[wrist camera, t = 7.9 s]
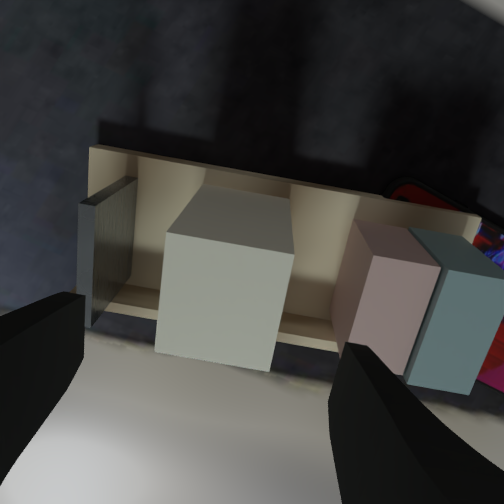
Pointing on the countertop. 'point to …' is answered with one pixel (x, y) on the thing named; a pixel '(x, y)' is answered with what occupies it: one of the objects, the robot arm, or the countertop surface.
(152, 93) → the countertop surface
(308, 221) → the shelf board
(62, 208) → the countertop surface
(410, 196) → the smartphone
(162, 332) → the book
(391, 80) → the countertop surface
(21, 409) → the robot arm
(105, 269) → the bookend
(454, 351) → the shelved books
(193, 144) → the countertop surface
